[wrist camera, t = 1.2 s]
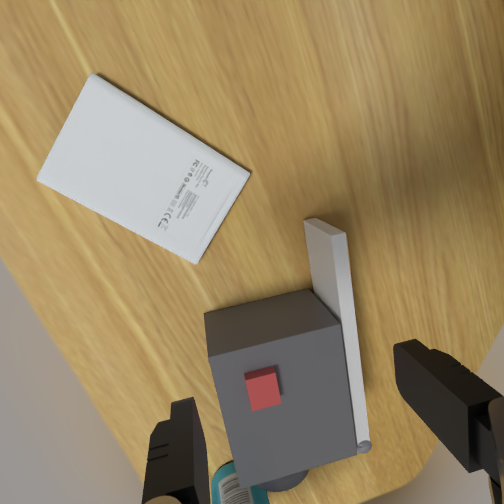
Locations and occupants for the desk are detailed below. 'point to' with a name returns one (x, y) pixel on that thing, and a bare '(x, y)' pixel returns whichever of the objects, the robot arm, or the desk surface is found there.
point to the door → (339, 309)
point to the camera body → (281, 388)
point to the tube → (234, 489)
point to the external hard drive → (141, 171)
